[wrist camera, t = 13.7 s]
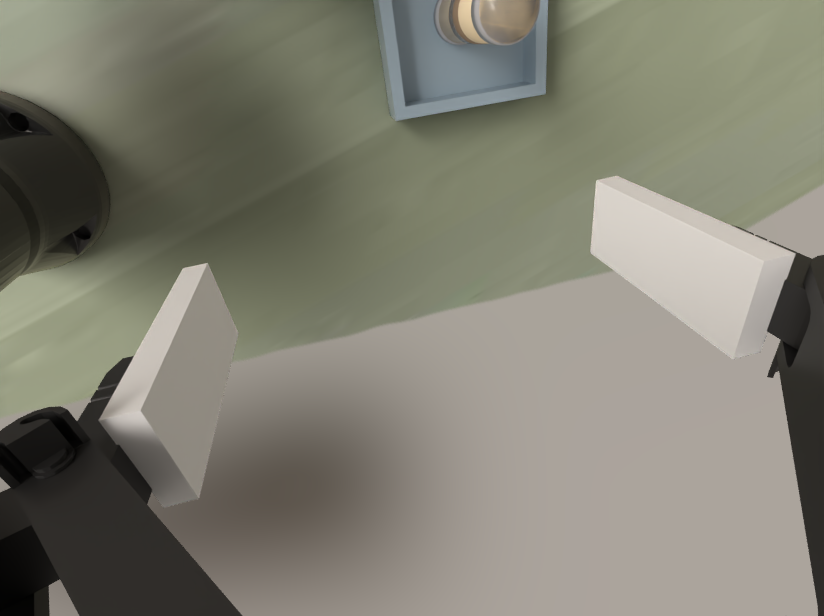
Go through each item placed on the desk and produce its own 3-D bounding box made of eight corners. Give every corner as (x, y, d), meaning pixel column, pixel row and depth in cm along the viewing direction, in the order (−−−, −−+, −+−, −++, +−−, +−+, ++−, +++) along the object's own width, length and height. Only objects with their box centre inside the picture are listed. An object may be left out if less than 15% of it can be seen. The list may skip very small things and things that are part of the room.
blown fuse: (436, 48, 39) (479, 50, 29) (430, -10, 37) (475, -30, 27) (481, 40, 40) (539, 40, 30) (479, -17, 37) (541, -39, 27)
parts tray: (390, 115, 42) (396, 120, 39) (361, -76, 35) (366, -87, 32) (529, 90, 43) (545, 94, 40) (531, -99, 36) (550, -112, 33)
